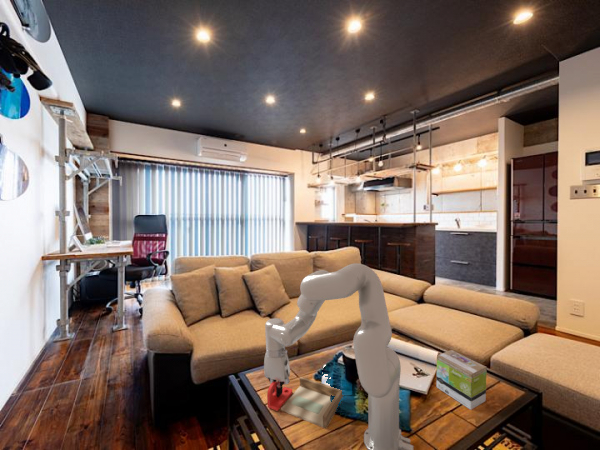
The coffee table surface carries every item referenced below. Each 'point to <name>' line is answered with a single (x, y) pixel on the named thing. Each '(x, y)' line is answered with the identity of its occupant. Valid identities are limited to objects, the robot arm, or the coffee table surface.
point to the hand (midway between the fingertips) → (277, 394)
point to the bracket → (276, 401)
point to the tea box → (461, 378)
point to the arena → (313, 402)
